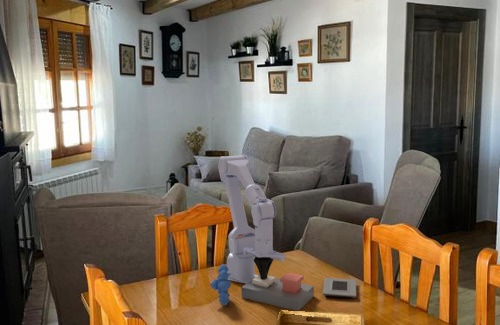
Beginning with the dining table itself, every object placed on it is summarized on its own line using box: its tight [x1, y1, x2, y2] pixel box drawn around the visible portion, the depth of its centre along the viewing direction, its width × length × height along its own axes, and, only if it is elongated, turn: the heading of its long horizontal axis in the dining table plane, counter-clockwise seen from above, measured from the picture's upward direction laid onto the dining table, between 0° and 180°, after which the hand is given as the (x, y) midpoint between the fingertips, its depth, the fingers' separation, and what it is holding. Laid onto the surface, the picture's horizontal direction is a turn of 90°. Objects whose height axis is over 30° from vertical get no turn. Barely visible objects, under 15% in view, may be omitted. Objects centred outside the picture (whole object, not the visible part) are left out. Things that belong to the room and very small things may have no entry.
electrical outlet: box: [322, 277, 357, 299], centre depth 165 cm, size 13×10×2 cm
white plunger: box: [252, 274, 276, 288], centre depth 163 cm, size 6×6×5 cm
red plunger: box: [279, 272, 305, 294], centre depth 158 cm, size 6×6×5 cm
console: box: [241, 277, 315, 311], centre depth 160 cm, size 20×12×4 cm, turn 61°
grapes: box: [210, 263, 232, 306], centre depth 156 cm, size 12×7×12 cm, turn 5°
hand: (263, 278), depth 162 cm, fingers closed, pressing on white plunger
